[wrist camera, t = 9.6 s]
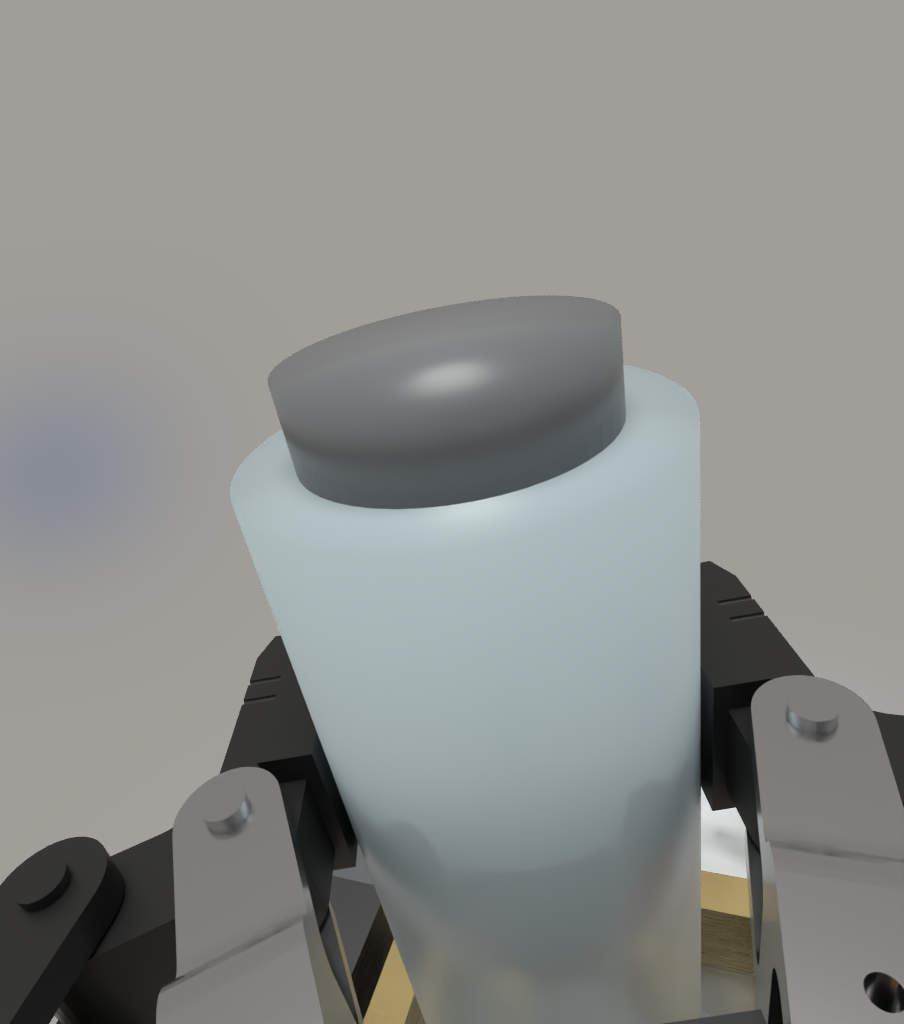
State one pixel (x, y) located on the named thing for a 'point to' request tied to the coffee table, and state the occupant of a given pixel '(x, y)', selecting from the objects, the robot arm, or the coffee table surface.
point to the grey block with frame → (394, 1004)
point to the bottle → (500, 647)
